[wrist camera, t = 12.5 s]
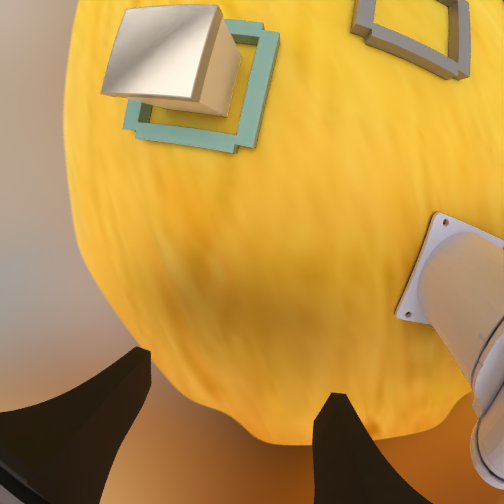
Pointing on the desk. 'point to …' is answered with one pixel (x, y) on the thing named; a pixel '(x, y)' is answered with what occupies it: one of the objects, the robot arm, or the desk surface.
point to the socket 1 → (252, 106)
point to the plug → (174, 59)
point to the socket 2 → (414, 50)
